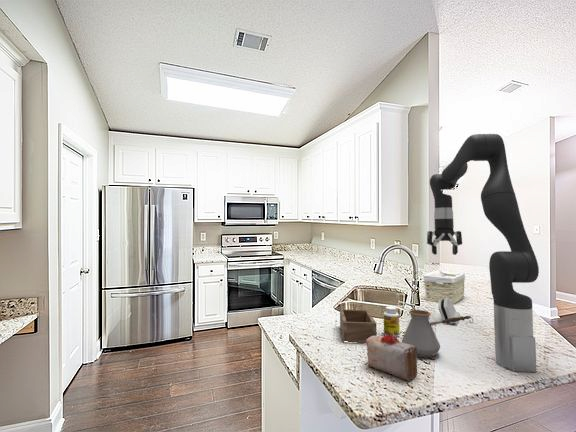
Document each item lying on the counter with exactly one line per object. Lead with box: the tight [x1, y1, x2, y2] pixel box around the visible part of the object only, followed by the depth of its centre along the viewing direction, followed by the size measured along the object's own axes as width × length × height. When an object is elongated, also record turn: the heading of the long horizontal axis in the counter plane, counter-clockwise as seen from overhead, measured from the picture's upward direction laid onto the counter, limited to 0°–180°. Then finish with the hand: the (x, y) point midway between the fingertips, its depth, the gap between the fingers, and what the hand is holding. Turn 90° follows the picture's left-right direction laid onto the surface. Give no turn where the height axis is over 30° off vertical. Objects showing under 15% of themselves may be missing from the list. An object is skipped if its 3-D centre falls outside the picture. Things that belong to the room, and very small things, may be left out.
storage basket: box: [423, 270, 466, 305], centre depth 170 cm, size 24×16×15 cm
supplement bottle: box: [383, 306, 400, 338], centre depth 113 cm, size 6×6×10 cm
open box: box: [339, 308, 378, 344], centre depth 113 cm, size 17×11×7 cm, turn 174°
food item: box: [365, 333, 418, 382], centre depth 85 cm, size 14×8×10 cm, turn 44°
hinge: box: [437, 299, 462, 327], centre depth 132 cm, size 17×5×10 cm, turn 145°
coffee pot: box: [401, 309, 474, 358], centre depth 93 cm, size 21×12×15 cm, turn 39°
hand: (444, 254), depth 133 cm, fingers open, 8 cm apart
